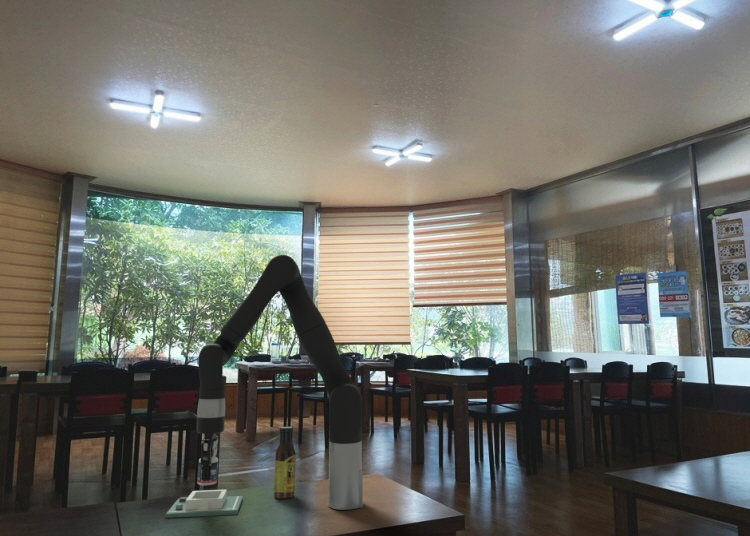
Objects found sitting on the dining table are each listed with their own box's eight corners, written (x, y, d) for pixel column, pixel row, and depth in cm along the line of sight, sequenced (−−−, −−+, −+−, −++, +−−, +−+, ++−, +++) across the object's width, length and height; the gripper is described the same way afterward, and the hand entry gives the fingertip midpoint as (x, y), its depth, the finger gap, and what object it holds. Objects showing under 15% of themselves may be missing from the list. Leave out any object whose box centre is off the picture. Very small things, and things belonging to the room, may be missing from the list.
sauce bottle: (290, 500, 146) (291, 429, 150) (270, 499, 148) (272, 428, 151) (298, 494, 153) (299, 426, 156) (278, 493, 154) (280, 425, 157)
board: (242, 499, 147) (243, 486, 148) (237, 514, 134) (237, 500, 134) (178, 502, 145) (178, 489, 145) (165, 517, 131) (166, 503, 132)
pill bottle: (198, 486, 137) (200, 452, 138) (196, 482, 142) (198, 448, 143) (218, 484, 139) (220, 450, 141) (215, 480, 144) (217, 447, 145)
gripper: (221, 417, 137) (217, 483, 134) (228, 411, 151) (225, 471, 148) (192, 418, 136) (188, 484, 133) (202, 412, 150) (198, 472, 147)
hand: (207, 477), depth 141 cm, fingers closed on pill bottle, 5 cm apart
